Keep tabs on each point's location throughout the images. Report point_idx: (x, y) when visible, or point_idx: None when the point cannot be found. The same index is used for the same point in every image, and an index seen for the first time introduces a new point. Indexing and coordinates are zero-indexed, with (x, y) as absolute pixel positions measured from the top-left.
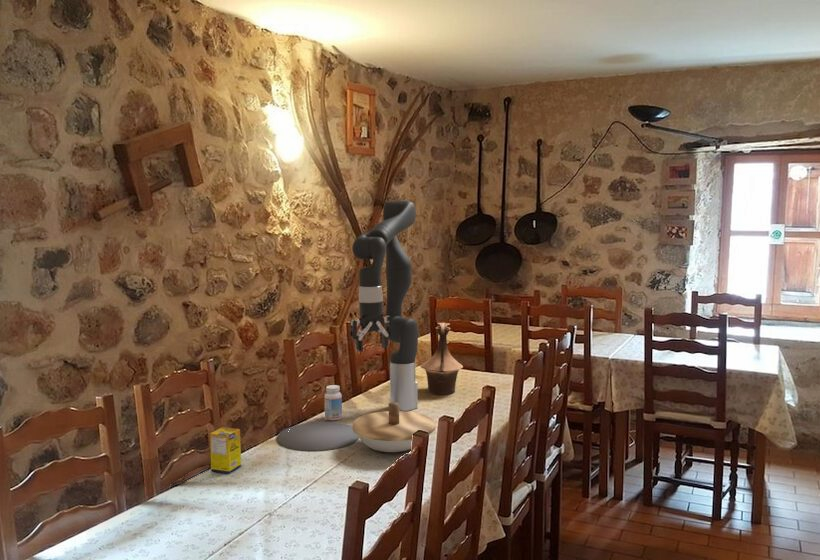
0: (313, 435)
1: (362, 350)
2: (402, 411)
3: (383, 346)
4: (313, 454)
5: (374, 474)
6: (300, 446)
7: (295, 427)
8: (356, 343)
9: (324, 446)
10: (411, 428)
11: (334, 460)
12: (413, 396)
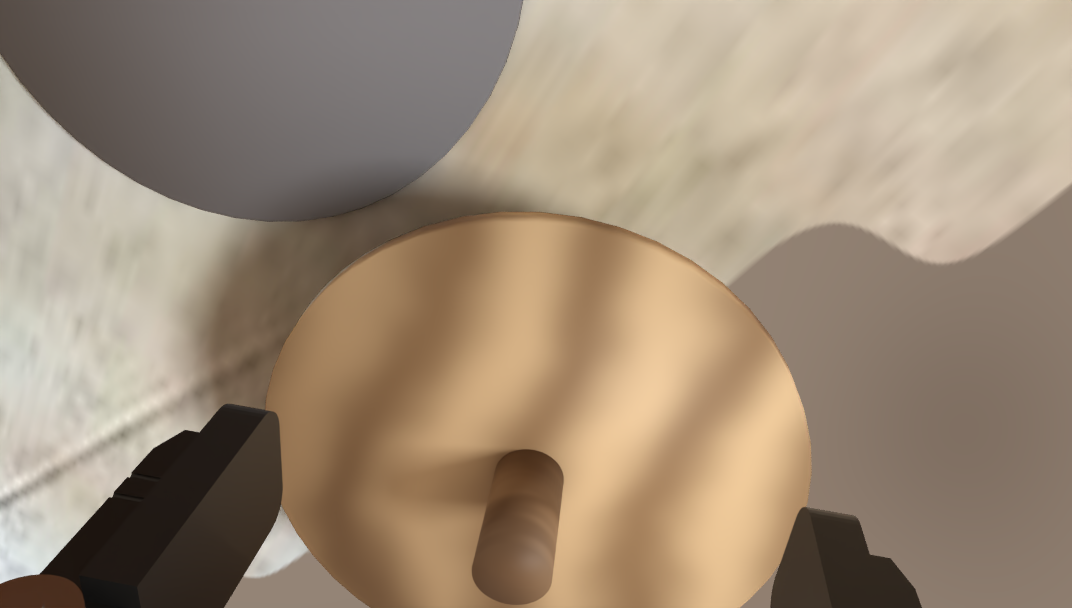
0: None
1: (263, 533)
2: (750, 327)
3: (788, 586)
4: (114, 212)
5: (295, 557)
6: (56, 81)
7: None
8: (85, 541)
9: (191, 171)
10: (556, 593)
11: (193, 345)
12: None
